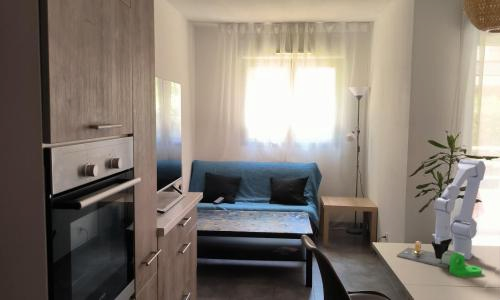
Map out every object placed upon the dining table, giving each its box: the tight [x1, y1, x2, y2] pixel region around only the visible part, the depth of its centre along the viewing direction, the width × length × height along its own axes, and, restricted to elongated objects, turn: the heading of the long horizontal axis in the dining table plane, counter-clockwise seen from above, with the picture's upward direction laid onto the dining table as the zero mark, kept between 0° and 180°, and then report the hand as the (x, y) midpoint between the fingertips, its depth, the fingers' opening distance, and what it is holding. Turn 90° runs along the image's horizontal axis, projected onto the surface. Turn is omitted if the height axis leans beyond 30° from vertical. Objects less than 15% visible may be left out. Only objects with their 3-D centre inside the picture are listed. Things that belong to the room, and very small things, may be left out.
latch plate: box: [396, 247, 450, 269], centre depth 195 cm, size 15×22×1 cm
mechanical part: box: [448, 253, 483, 279], centre depth 177 cm, size 12×6×8 cm, turn 105°
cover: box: [442, 249, 465, 265], centre depth 187 cm, size 9×7×4 cm
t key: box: [414, 240, 422, 252], centre depth 198 cm, size 2×7×5 cm, turn 154°
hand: (441, 256), depth 190 cm, fingers open, 7 cm apart
